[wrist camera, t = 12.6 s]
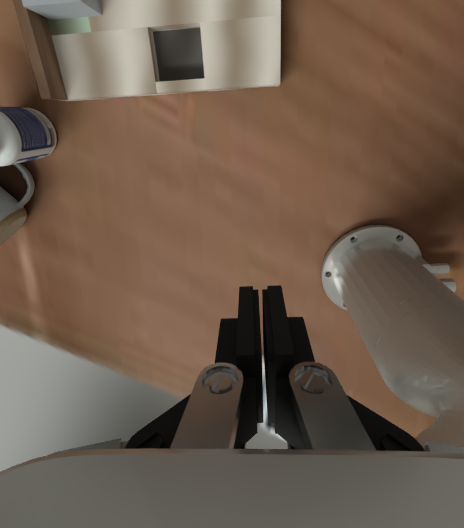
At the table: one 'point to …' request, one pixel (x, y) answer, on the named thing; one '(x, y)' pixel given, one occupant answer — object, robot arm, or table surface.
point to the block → (64, 8)
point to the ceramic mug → (14, 207)
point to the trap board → (154, 48)
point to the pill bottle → (24, 135)
